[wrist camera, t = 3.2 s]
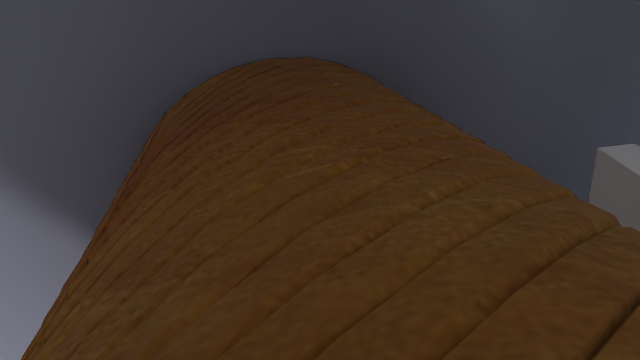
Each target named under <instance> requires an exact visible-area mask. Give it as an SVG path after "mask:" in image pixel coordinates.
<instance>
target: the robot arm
mask: <svg viewBox="0 0 640 360" xmlns="http://www.w3.org/2000/svg"><path fill="white" fill-rule="evenodd" d="M588 203H590V204H592V205H594V206H596V207H598V208H601V209H603V210H605V211H607V212H609V213H611V214H613V215H615V217H616V218H617V220H618V221H619V223H620V224H621V226H622V227H632V228H634V229H636V230H638V231H640V146H638V145H636V144H635V143H633V144H625V145H617V146H608V147H600V148H598V149H597V154H596V160H595V166H594V171H593V177H592V183H591V189H590V194H589V200H588Z"/></svg>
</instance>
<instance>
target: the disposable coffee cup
mask: <svg viewBox="0 0 640 360" xmlns="http://www.w3.org/2000/svg"><path fill="white" fill-rule="evenodd" d="M21 360H640V231H638V230H636V229H634V228H632V227H622V226H621V224H620V223H619V221H618V220H617V218H616V217H615V215H613V214H611V213H609V212H607V211H605V210H603V209H601V208H598V207H596V206H594V205H592V204H590V203H588V202H586V201H583V200H579V199H578V198H577V197H576V196H575V195H574V194H573V193H572V191H571V190H569V189H567V188H565V187H562V186H560V185H558V184H556V183H554V182H552V181H550V180H548V179H544V178H542V177H541V176H540V175H539V174H538V173H537V172H536V171H535V170H534V169H532V168H530V167H527V166H525V165H523V164H521V163H519V162H517V161H514V160H513V159H512V158H511V157H510V156H509V155H507V154H505V153H503V152H501V151H498V150H496V149H494V148H492V147H490V146H488V145H487V144H485V143H484V142H483V141H482V140H480V139H478V138H476V137H474V136H472V135H470V134H467V133H465V132H463V131H462V130H461V129H460V128H458V127H457V126H456V125H454V124H452V123H449V122H446V121H444V120H443V119H442V118H440V117H439V116H437V115H435V114H433V113H431V112H428V111H427V110H426V109H424V108H423V107H422V106H420V105H417V104H415V103H413V102H411V101H410V100H409V99H407V98H406V97H403V96H401V95H399V94H397V93H396V92H395V91H393V90H391V89H389V88H387V87H385V86H384V85H382V84H381V83H379V82H378V81H376V80H375V79H373V78H372V77H370V76H369V75H367V74H364V73H362V72H359V71H357V70H355V69H352V68H350V67H347V66H345V65H343V64H340V63H335V62H330V61H325V60H319V59H314V58H279V59H267V60H263V61H259V62H255V63H251V64H246V65H242V66H238V67H235V68H232V69H230V70H228V71H225V72H223V73H220V74H218V75H216V76H213V77H212V78H210V79H209V80H207V81H206V82H204V83H203V84H201V85H200V86H198V87H197V88H195V89H194V90H192V91H191V92H189V93H188V94H186V95H185V96H184V97H183V98H182V99H181V100H180V101H178V102H177V103H176V104H175V105H174V106H173V107H172V108H171V109H170V110H169V111H168V112H166V113H165V115H164V116H163V117H162V119H161V120H160V122H159V123H158V125H157V126H156V128H155V129H154V131H153V132H152V134H151V135H150V137H149V139H148V141H147V143H146V144H145V146H144V148H143V150H142V152H141V154H140V155H139V157H138V158H137V160H136V161H135V163H134V165H133V166H132V168H131V171H130V172H129V174H128V175H127V177H126V179H125V181H124V183H123V185H122V186H121V188H120V189H119V191H118V193H117V195H116V196H115V198H114V200H113V202H112V204H111V206H110V208H109V210H108V211H107V213H106V215H105V217H104V218H103V220H102V222H101V223H100V225H99V226H98V228H97V230H96V232H95V234H94V236H93V238H92V240H91V242H90V244H89V245H88V247H87V249H86V250H85V252H84V254H83V256H82V258H81V260H80V261H79V263H78V264H77V266H76V267H75V269H74V270H73V272H72V273H71V275H70V276H69V278H68V280H67V281H66V283H65V284H64V286H63V288H62V290H61V292H60V295H59V296H58V298H57V300H56V301H55V303H54V304H53V306H52V307H51V309H50V311H49V312H48V314H47V315H46V317H45V319H44V321H43V323H42V325H41V328H40V329H39V331H38V333H37V334H36V336H35V337H34V339H33V341H32V342H31V344H30V345H29V347H28V348H27V350H26V352H25V353H24V355H23V356H22V359H21Z"/></svg>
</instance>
